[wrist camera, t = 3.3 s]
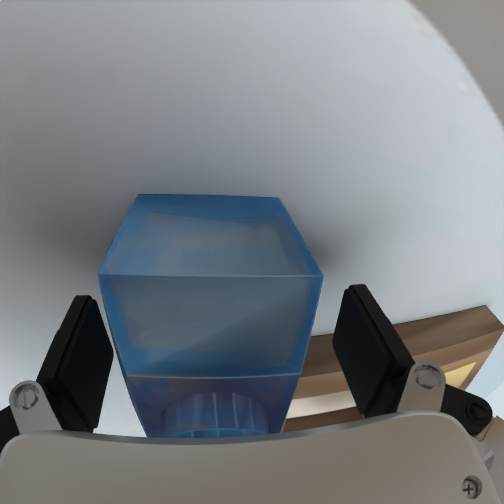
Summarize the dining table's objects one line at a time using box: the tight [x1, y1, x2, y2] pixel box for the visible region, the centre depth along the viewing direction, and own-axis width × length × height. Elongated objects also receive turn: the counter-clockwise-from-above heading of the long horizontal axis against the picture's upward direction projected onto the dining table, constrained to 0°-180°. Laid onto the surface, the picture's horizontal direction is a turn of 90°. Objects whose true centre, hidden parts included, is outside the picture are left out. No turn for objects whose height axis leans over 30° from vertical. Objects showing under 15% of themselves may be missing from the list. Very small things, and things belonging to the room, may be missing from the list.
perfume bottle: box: [98, 194, 324, 438], centre depth 10 cm, size 6×6×12 cm
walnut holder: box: [280, 305, 504, 433], centre depth 21 cm, size 12×20×3 cm, turn 89°
